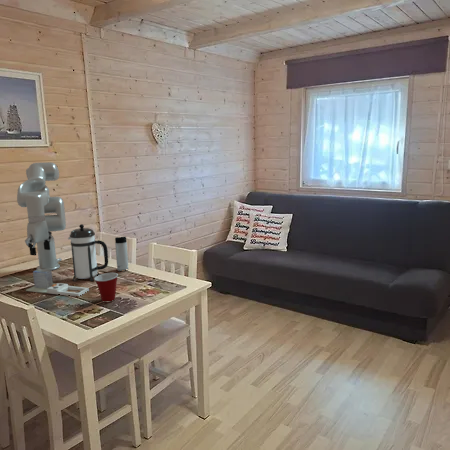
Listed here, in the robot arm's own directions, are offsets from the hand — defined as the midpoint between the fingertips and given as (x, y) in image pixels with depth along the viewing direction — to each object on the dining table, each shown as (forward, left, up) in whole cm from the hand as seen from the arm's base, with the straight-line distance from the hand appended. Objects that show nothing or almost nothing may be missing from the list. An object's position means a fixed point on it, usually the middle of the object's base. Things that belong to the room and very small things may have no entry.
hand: (40, 252), depth 201 cm
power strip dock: (+2, +16, -19) cm, 25 cm away
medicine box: (0, 0, -18) cm, 18 cm away
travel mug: (-36, +24, -19) cm, 47 cm away
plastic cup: (+6, +41, -19) cm, 46 cm away
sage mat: (0, 0, -19) cm, 19 cm away
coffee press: (-19, +13, -19) cm, 30 cm away
